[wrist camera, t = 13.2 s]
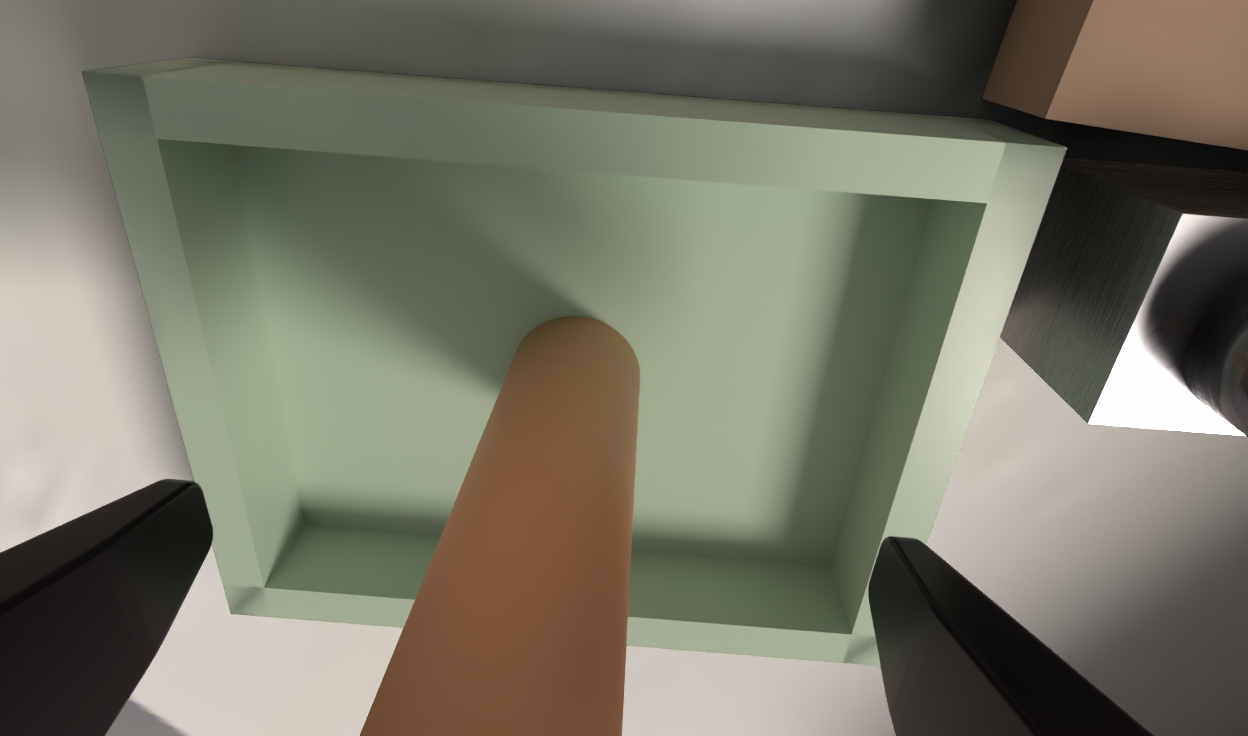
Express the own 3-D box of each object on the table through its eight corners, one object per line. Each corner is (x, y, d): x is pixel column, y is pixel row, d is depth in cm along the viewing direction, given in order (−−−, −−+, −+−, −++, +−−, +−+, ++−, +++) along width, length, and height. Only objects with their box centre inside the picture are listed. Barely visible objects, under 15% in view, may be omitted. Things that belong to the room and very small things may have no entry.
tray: (989, 119, 11) (1067, 147, 9) (852, 577, 16) (883, 665, 14) (189, 57, 11) (81, 71, 9) (287, 532, 16) (231, 613, 14)
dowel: (645, 321, 13) (620, 884, 5) (635, 433, 14) (601, 1042, 6) (512, 310, 13) (257, 853, 5) (513, 423, 14) (308, 1015, 6)
